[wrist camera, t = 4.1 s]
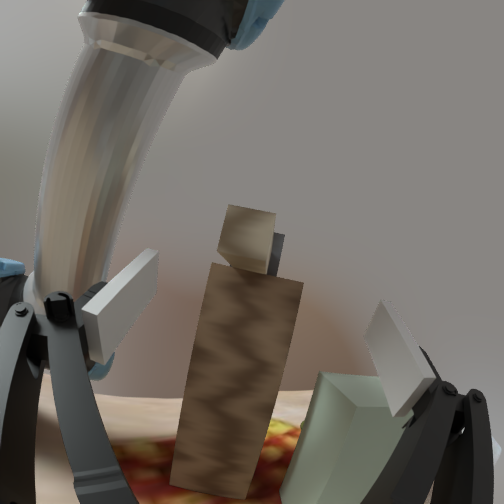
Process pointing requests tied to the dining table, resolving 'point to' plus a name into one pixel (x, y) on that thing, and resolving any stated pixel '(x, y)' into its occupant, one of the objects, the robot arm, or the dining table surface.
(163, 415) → the dining table surface
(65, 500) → the dining table surface
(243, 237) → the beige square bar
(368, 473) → the pale green block
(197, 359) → the stand tall
